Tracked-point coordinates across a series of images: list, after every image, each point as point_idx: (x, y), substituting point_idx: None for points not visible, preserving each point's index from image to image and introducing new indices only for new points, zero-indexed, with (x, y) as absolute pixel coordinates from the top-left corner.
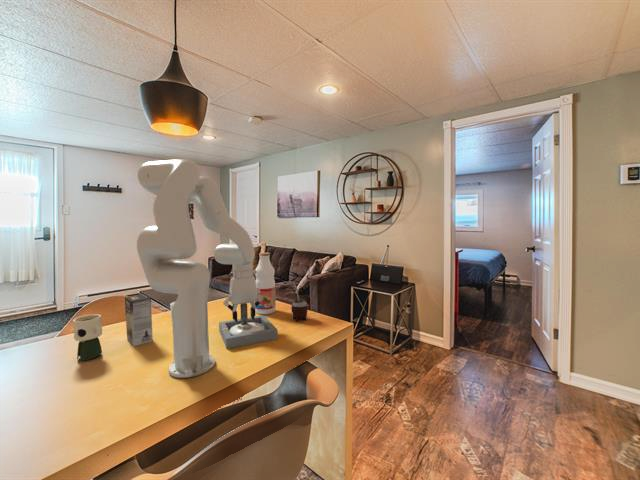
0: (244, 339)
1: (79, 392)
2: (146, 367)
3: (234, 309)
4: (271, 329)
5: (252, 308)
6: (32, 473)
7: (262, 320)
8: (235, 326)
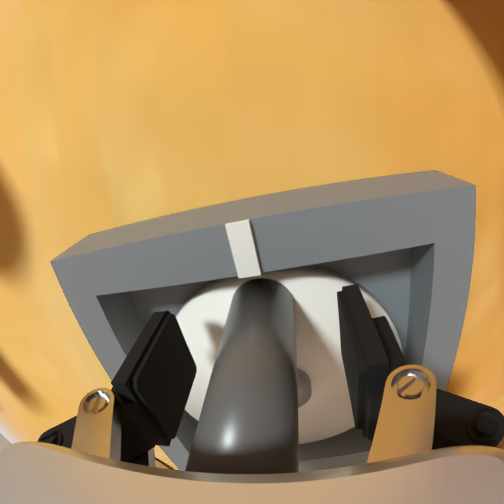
0: None
1: (11, 428)
2: (33, 417)
3: (136, 458)
4: None
5: (368, 429)
6: None
7: (427, 306)
8: (189, 330)
